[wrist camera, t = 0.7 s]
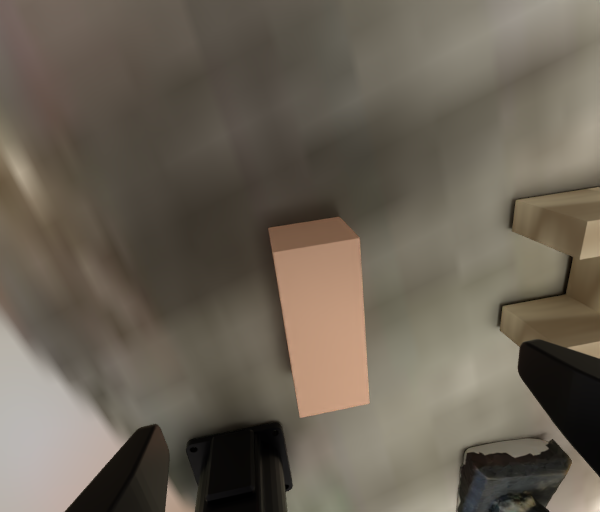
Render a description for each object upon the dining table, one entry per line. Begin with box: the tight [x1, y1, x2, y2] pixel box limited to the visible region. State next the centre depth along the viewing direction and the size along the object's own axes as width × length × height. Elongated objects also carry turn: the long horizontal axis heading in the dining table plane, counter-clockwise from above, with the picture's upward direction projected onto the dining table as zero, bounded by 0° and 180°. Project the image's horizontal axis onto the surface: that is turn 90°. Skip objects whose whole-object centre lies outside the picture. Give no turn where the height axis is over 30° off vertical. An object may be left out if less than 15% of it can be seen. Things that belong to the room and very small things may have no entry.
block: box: [500, 187, 600, 358], centre depth 20 cm, size 9×7×5 cm
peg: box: [268, 217, 370, 418], centre depth 19 cm, size 4×10×4 cm, turn 7°
